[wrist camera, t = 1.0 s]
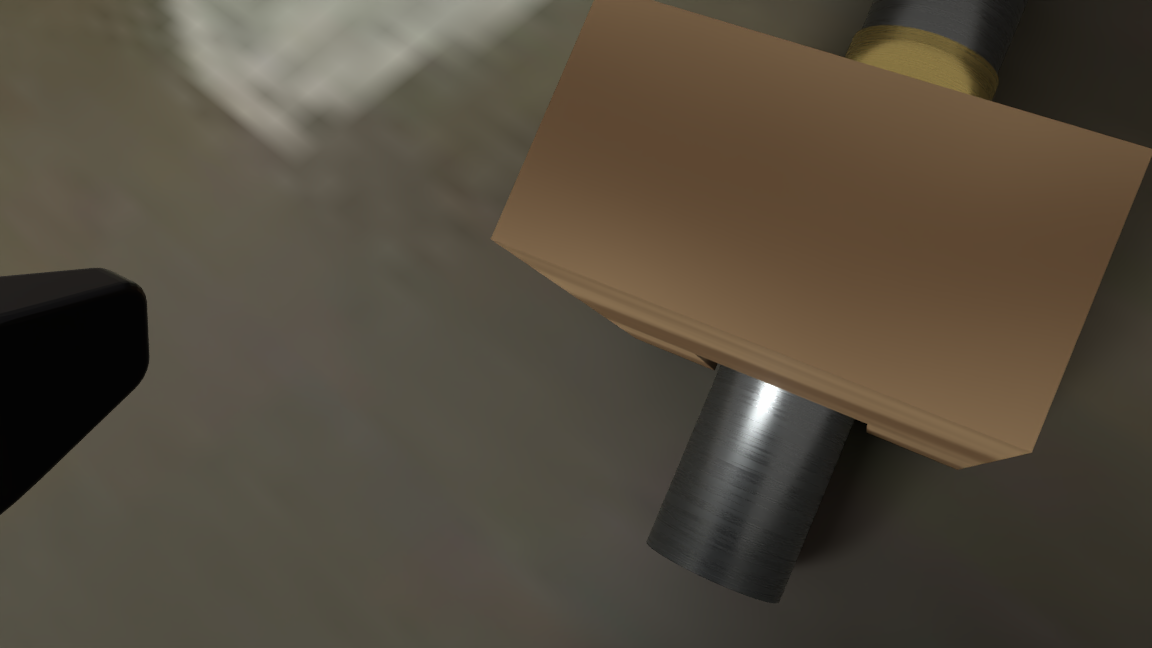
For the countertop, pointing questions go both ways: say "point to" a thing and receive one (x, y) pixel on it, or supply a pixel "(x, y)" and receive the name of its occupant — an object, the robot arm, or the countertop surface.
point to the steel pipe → (777, 417)
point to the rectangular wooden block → (823, 224)
